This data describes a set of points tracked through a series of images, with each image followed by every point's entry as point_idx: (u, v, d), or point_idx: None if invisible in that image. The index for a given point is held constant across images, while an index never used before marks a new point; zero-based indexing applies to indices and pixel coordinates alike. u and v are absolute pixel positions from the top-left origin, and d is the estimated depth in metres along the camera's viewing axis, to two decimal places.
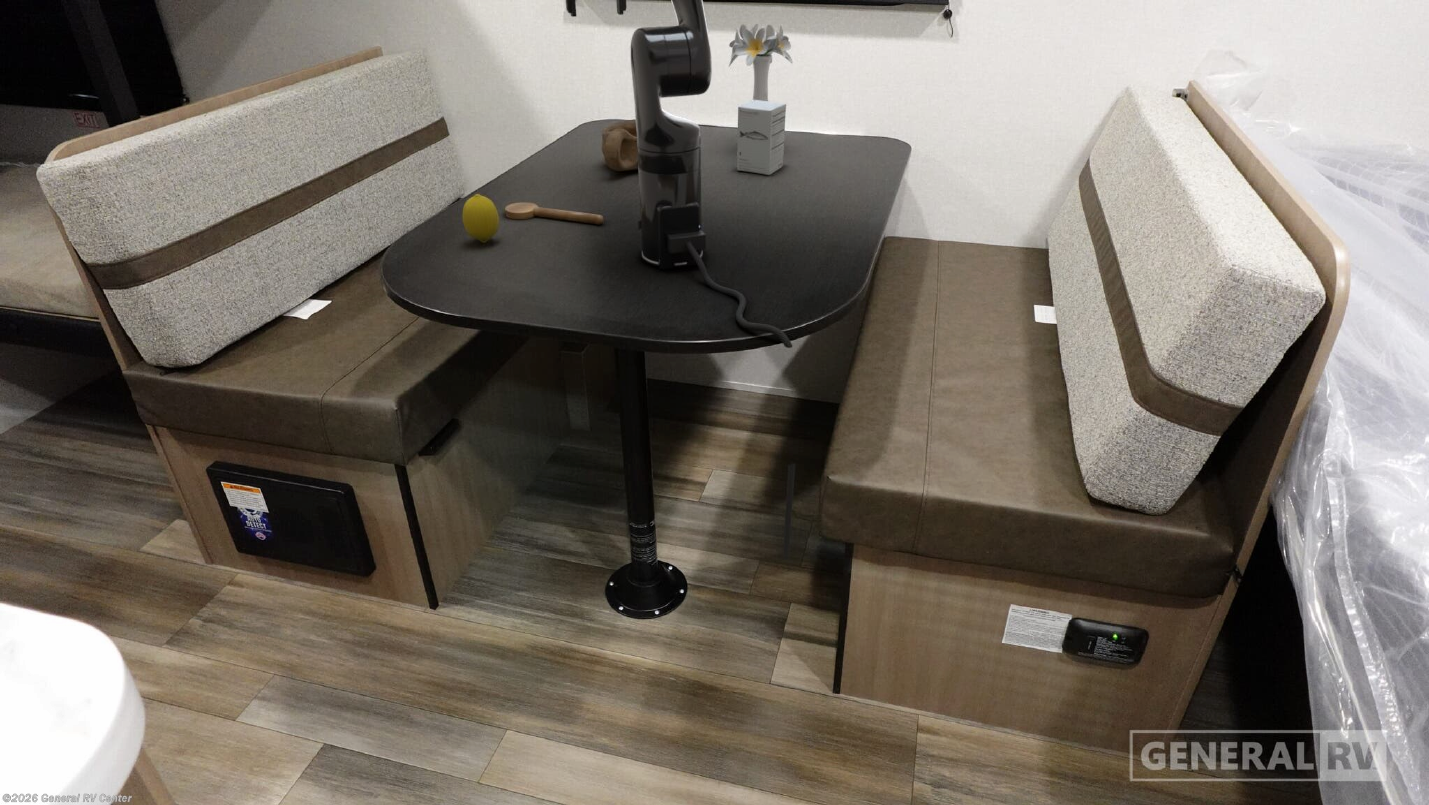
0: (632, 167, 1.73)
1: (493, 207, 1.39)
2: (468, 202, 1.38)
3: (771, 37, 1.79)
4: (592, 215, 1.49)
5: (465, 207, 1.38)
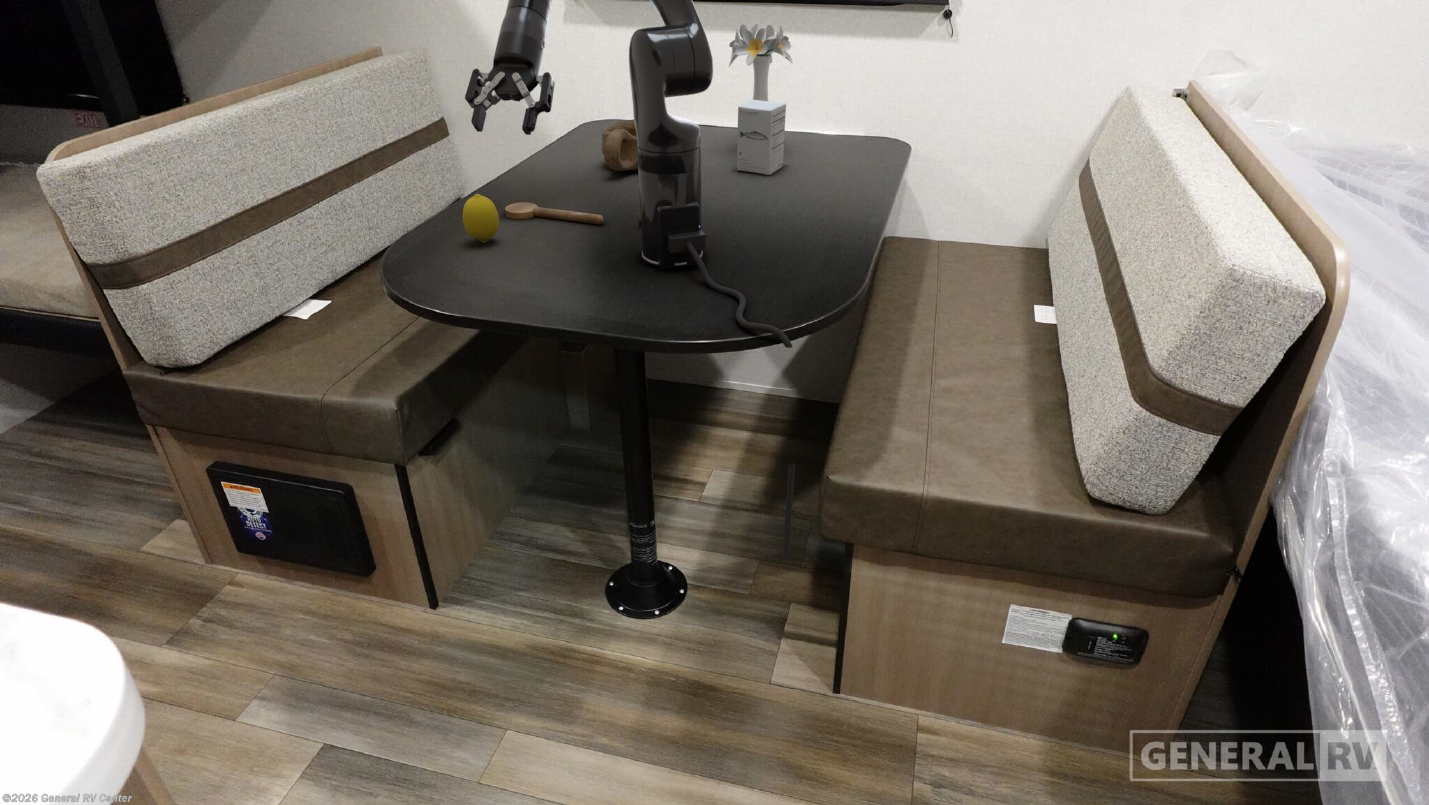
0: (632, 167, 1.73)
1: (493, 207, 1.39)
2: (468, 202, 1.38)
3: (771, 37, 1.79)
4: (592, 215, 1.49)
5: (465, 207, 1.38)
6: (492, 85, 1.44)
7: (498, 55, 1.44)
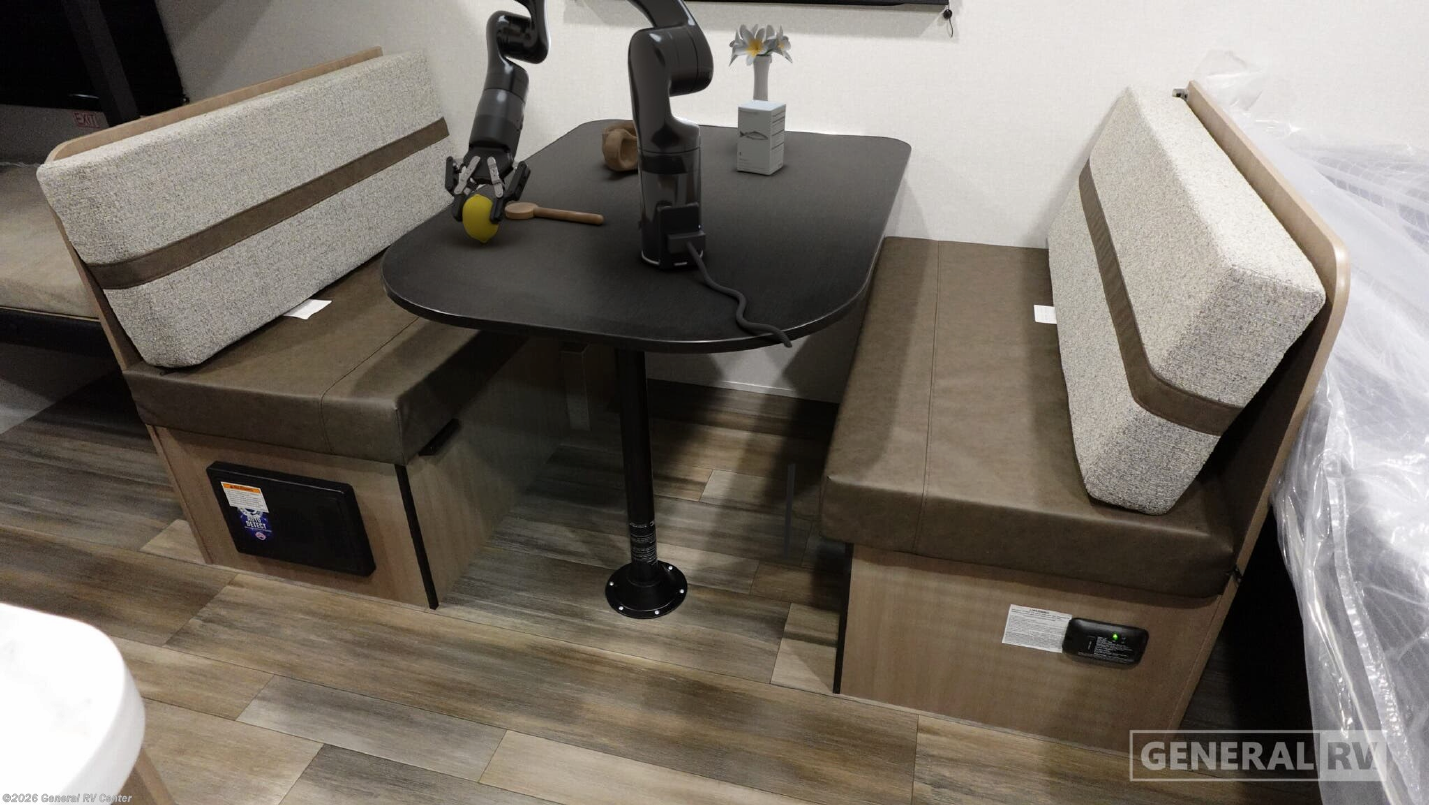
0: (632, 167, 1.73)
1: None
2: (468, 202, 1.38)
3: (771, 37, 1.79)
4: (592, 215, 1.49)
5: (465, 207, 1.38)
6: (467, 170, 1.39)
7: (473, 139, 1.39)
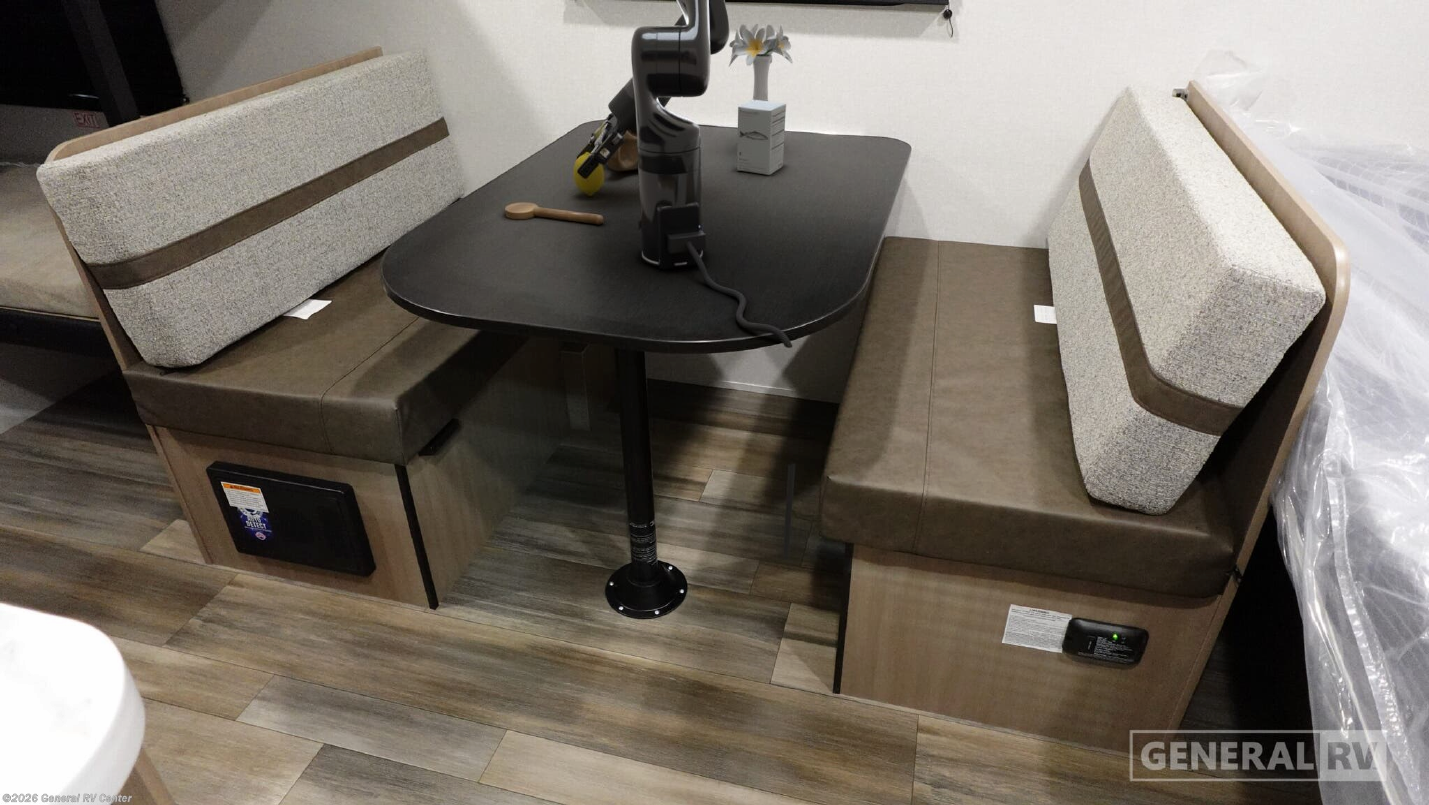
0: (632, 167, 1.73)
1: None
2: None
3: (771, 37, 1.79)
4: (592, 215, 1.49)
5: None
6: (598, 129, 1.59)
7: None
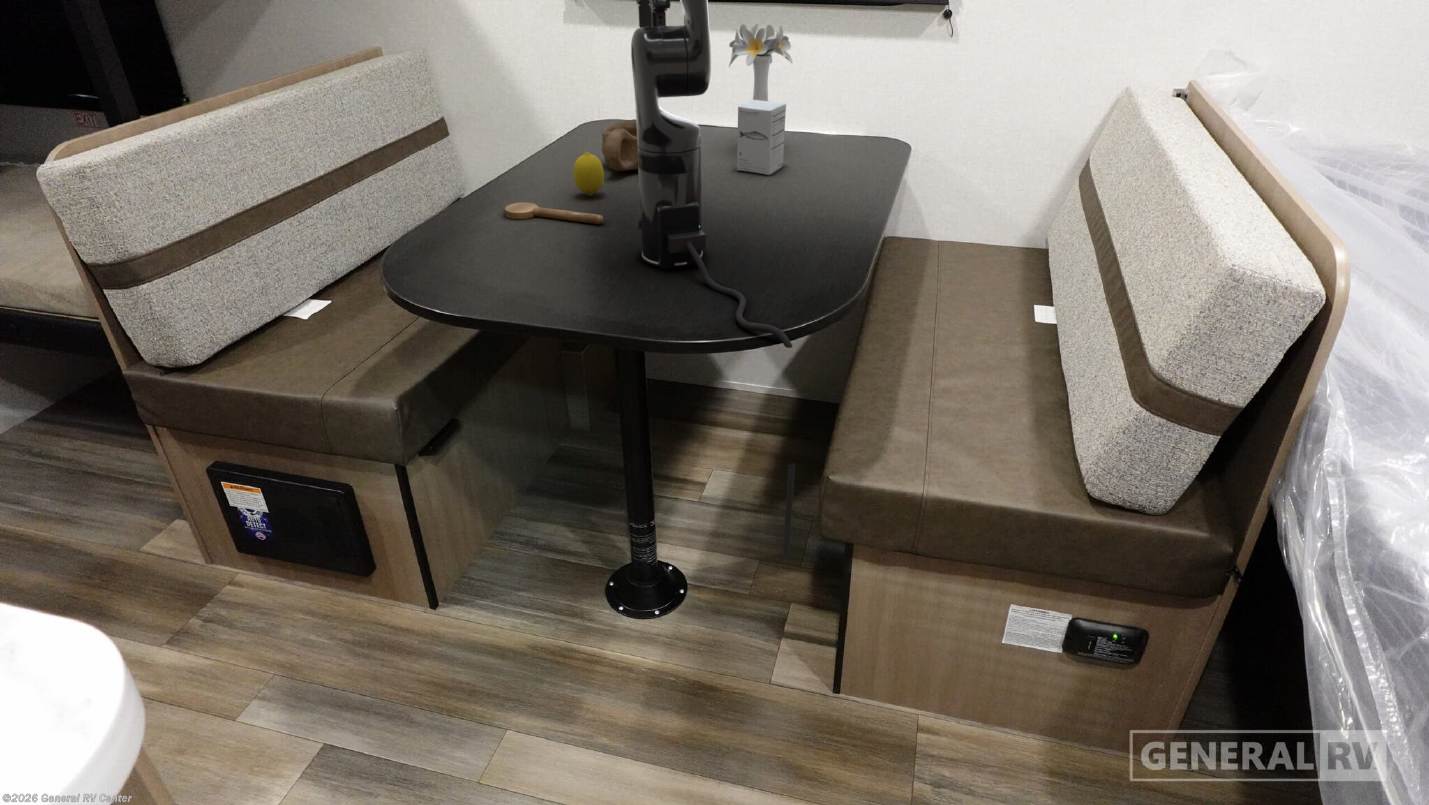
0: (632, 167, 1.73)
1: (589, 167, 1.57)
2: None
3: (771, 37, 1.79)
4: (592, 215, 1.49)
5: None
6: None
7: None
